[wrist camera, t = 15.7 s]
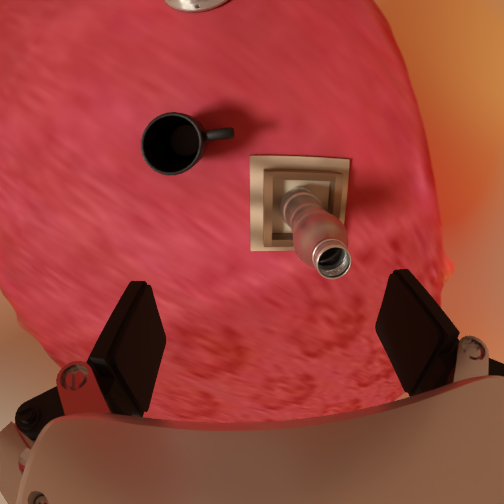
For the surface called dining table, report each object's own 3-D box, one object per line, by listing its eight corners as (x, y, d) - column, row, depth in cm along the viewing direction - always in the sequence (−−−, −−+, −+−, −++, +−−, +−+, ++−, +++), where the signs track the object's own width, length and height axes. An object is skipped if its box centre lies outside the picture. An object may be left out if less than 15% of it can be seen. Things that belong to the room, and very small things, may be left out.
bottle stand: (249, 155, 41) (250, 157, 37) (347, 158, 41) (356, 162, 37) (250, 248, 48) (251, 258, 44) (339, 247, 48) (345, 257, 44)
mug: (239, 159, 41) (236, 167, 32) (165, 168, 41) (145, 180, 32) (234, 108, 37) (230, 102, 29) (159, 120, 37) (136, 119, 29)
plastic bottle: (302, 176, 41) (344, 216, 23) (325, 208, 43) (375, 267, 25) (270, 200, 43) (286, 257, 25) (294, 231, 45) (324, 302, 27)
